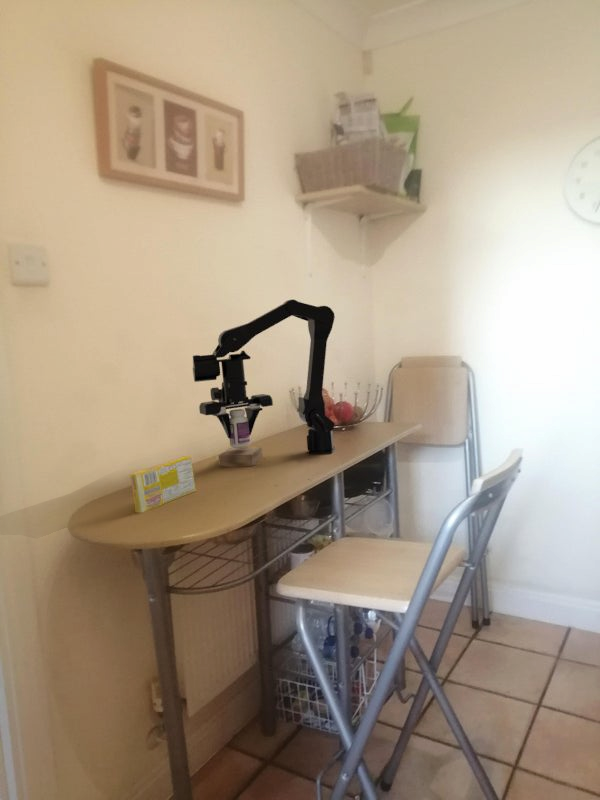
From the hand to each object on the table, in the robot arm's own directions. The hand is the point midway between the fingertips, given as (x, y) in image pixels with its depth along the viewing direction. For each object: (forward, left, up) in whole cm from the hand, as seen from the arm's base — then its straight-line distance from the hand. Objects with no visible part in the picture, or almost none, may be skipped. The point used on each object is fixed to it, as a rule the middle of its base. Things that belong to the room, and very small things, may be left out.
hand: (239, 436), depth 163 cm
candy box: (+6, +34, -7) cm, 35 cm away
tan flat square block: (0, 0, -7) cm, 7 cm away
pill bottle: (0, 0, -3) cm, 3 cm away
